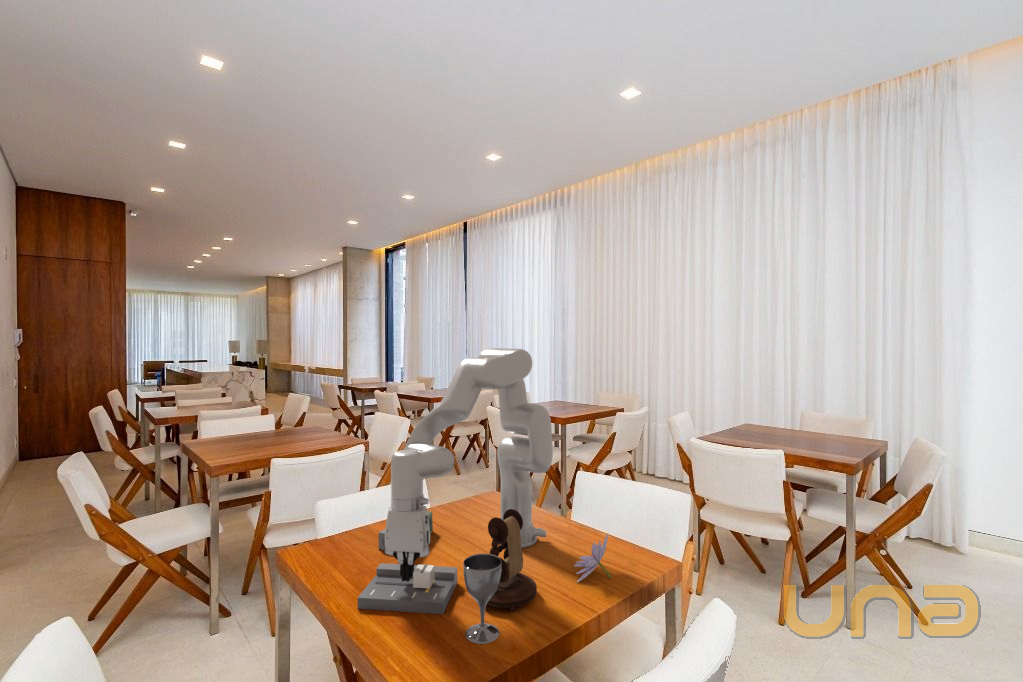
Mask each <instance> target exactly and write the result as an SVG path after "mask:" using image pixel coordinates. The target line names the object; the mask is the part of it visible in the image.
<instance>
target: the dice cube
mask: <svg viewBox="0 0 1023 682" xmlns="http://www.w3.org/2000/svg"><path fill="white" fill-rule="evenodd" d="M385 529H386V528H383V529H382V530H381V531H379V532H378V550H379V549H381V551H385V549H386V548H385Z"/></svg>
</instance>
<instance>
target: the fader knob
mask: <svg viewBox="0 0 1023 682" xmlns="http://www.w3.org/2000/svg"><path fill="white" fill-rule="evenodd" d="M417 565H418V566H417V567H416V569H415V570H414V572H413V588H429V589H430V587H431V585H432V583H433V582H434V566H435V565H434V564H433V565H432V564H428V563H427V564H417Z"/></svg>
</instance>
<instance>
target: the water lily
mask: <svg viewBox="0 0 1023 682" xmlns="http://www.w3.org/2000/svg"><path fill="white" fill-rule="evenodd" d="M608 539H609V532H607V534H606V535H605V538H604V540H603V543H601V540H598V544H596V542H593V543H592V545H591V551H590V552H591V555H581V556H579V559H580V560H579V561H575V564H573V566H574V567H577V568H581V569H580V570H579V571H578V572H576V575H578V574H582V573H583V574H582V575H581V576H580V577H579V579H577V581H576V583H579V582H581V581H582V580H584V579H585V578H587V577H588V576H589V575H591V573H592V572H594V570H596V567H597V566H600V568H601V569H602V570H603V572H604V573H605V574H606V575H607V577H608V579H609V578H610V579H612V575H611V574H610V573H609V572H608V570H607V569H606V568H605V567H604V566H603V564H602V563H601V560H602V559H603V557H604V556H605V553H606V549H607V544H608Z"/></svg>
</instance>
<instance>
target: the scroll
mask: <svg viewBox="0 0 1023 682" xmlns="http://www.w3.org/2000/svg"><path fill="white" fill-rule="evenodd" d="M522 526H523V519H522V517H521V515H520V513H519V512H518V511H516V510H514V509H509V510H507V511H506V512H505V513H504V516H503V520H502V519H501V517H497V516H495V517H493V518H491V519H490V520H489V522H488V524H487V532H488V534H489V536H490V537H491V539H492V540H491V545H490V546H491V548H490V550H489V554H493V555H496V556H498V557H499V558H500V559H501V579H500V584H499V587H498V590H497V592H496V593H495V594H494V595H493V597H492V598H491V599H490V600H489V601H488V603H487V605H486V606H491V607H495V608H501V609H502V608H503V609H504V608H506V609H507V608H509V610H510V612H511V613H513V612H514V611H515V608H517V607H520V606H524V605H526V604H528V603H530V602H531V601H532V600H534V598H536V596H537V593H538V588H537V587H538V586H537V583H536V581H535V580H534V579H533V578H532V577H530V576H528V575H526V574H525V573H522V570H523V567H524V555H523V548H522V547H521V534H520V530H521V529H522ZM500 544H501V545H500ZM503 550H504V551H503ZM502 552H503V558H502V557H500V554H501V553H502Z"/></svg>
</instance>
